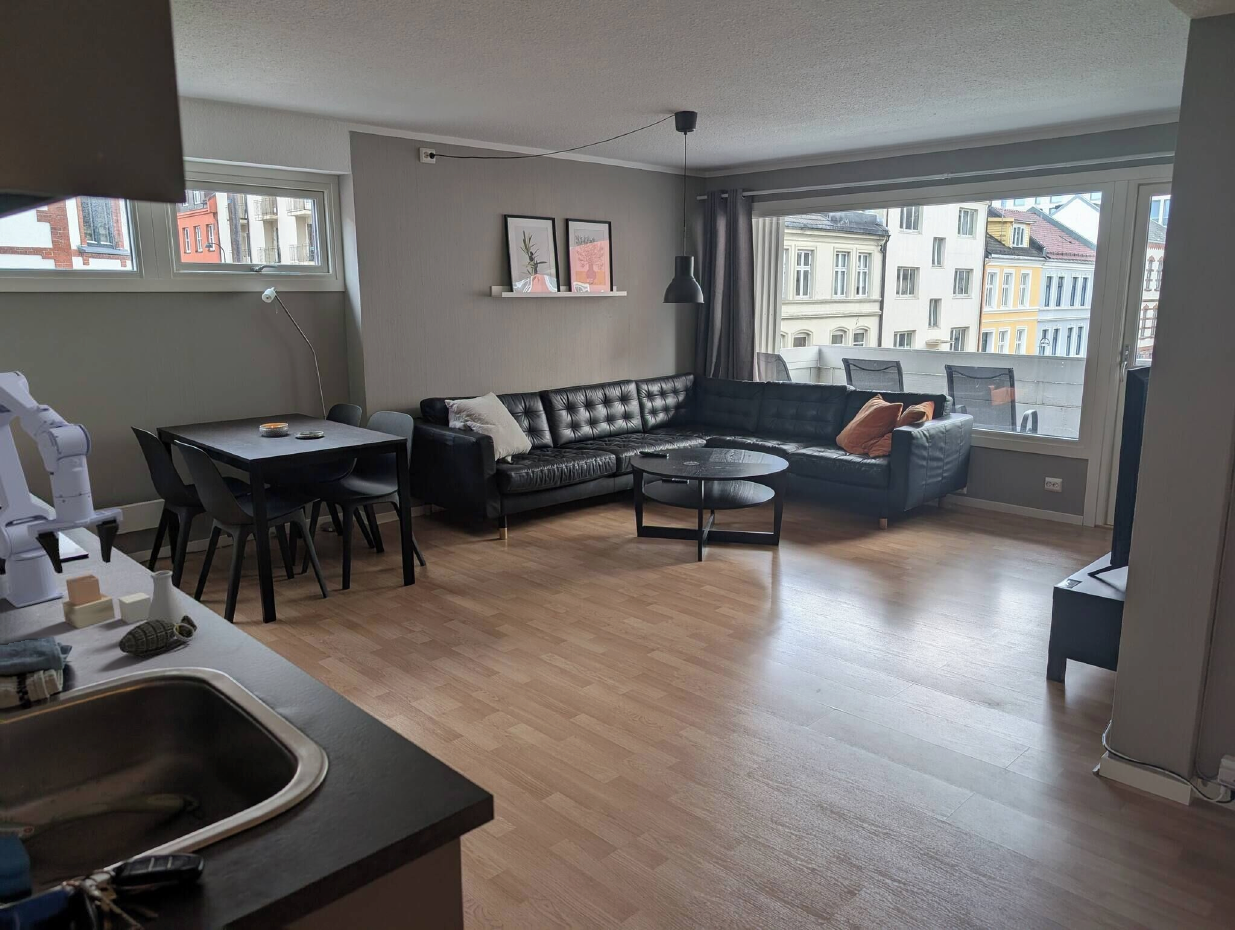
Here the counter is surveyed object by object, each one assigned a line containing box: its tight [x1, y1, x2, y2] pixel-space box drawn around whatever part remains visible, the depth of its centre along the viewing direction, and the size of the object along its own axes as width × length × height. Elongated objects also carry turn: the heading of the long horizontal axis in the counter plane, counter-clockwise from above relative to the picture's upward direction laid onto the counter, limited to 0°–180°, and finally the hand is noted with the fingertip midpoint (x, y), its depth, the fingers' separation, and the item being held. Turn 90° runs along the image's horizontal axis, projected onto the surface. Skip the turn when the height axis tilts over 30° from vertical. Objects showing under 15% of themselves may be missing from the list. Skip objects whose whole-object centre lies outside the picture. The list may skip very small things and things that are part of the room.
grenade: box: [118, 615, 198, 659], centre depth 141 cm, size 6×5×12 cm
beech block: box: [61, 592, 116, 629], centre depth 155 cm, size 6×6×4 cm
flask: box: [145, 570, 191, 623], centre depth 150 cm, size 7×7×10 cm
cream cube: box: [118, 591, 152, 625], centre depth 155 cm, size 4×4×4 cm
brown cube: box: [65, 573, 101, 606], centre depth 154 cm, size 4×4×4 cm
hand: (83, 566), depth 154 cm, fingers open, 7 cm apart
